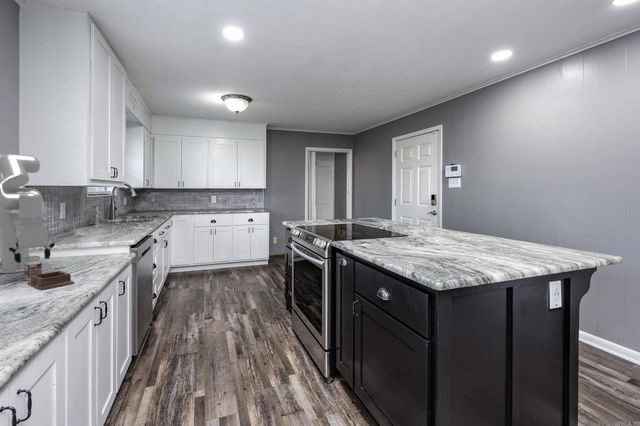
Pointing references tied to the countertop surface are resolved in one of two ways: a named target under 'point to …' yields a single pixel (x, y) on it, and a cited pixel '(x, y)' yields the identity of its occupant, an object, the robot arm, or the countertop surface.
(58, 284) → the socket board
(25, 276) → the pill bottle
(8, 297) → the countertop surface
